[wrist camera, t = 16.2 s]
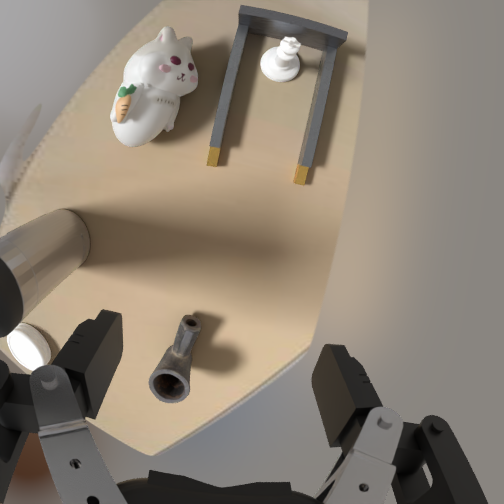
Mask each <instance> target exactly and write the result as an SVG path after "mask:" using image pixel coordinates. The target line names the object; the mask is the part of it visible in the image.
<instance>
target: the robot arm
mask: <svg viewBox="0 0 504 504" xmlns="http://www.w3.org/2000/svg"><path fill="white" fill-rule="evenodd" d="M89 251H90V237H89V233H88V230H87V228H86V226H85V224H84V223H83V221H82V220H81V219H80V218H79V216H78V215H76V214H75V213H73V212H71V211H69V210H65V209H59V210H56V211H53V212H51V213H49V214H47V215H43V216H40V217H38V218H36V219H34V220H32V221H30V222H28V223H26V224H24V225H22V226H20V227H18V228H16V229H14V230H12V231H10V232H8V233H7V234H6V235H5V236H3V237H1V238H0V338H1V337H5V336H7V335H8V334H10V333H11V332H12V331H13V330H14V329H15V328H16V327H17V326H18V325H19V323H21V321H22V320H23V319H24V318H25V317H26V316H27V315H28V314H29V313H30V312H31V311H32V310H33V309H34V308H35V307H36V306H37V305H38V304H39V303H40V302H41V301H42V300H43V299H44V298H45V297H46V296H47V295H49V294H50V293H51V292H52V291H53V290H54V289H55V288H56V287H57V286H58V285H59V284H60V283H61V282H62V281H63V280H64V279H66V278H67V277H68V276H69V275H70V274H71V273H72V272H73V271H74V270H76V269H77V268H78V267H79V266H80V265H81V264H82V263H83V262H84V261H85V260H86V258H87V257H88V254H89ZM122 352H123V330H122V315H121V313H117V312H113V311H109V310H104V309H103V310H101V312H100V313H99V315H98V316H97V317H96V319H95V320H92V319H87V320H86V321H84V322H82V323H81V324H79V325H78V327H77V328H76V329H75V331H74V332H73V335H71V336H70V338H69V339H68V341H67V342H66V343H65V345H64V346H63V348H62V349H61V351H60V352H59V353H58V355H57V356H56V358H55V359H54V361H53V362H52V364H51V365H44V366H40V367H38V368H36V369H35V370H34V371H33V372H32V373H31V375H27V374H17V373H10V371H9V368H8V366H7V364H6V363H5V362H4V361H2V360H0V504H3V503H4V499H5V496H6V493H7V490H8V487H9V484H10V481H11V478H12V475H13V472H14V470H15V467H16V464H17V462H18V459H19V456H20V454H21V452H22V449H23V446H24V444H25V442H26V439H27V437H28V435H29V432H30V433H38V434H39V438H40V442H41V445H42V448H43V452H44V455H45V458H46V461H47V464H48V467H49V470H50V472H51V475H52V478H53V480H54V483H55V486H56V488H57V490H58V493H59V495H60V498H61V500H62V502H63V504H383V503H384V501H385V498H386V496H387V493H388V491H389V488H390V485H392V488H393V492H394V495H395V498H396V501H397V504H488V502H487V500H486V498H485V496H484V493H483V491H482V489H481V487H480V485H479V483H478V480H477V478H476V476H475V474H474V472H473V470H472V468H471V466H470V464H469V462H468V460H467V458H466V456H465V454H464V452H463V451H462V449H461V447H460V445H459V443H458V441H457V439H456V437H455V435H454V433H453V432H452V430H451V428H450V426H449V425H448V423H447V422H446V421H445V420H443V419H442V418H440V417H438V416H434V415H430V416H426V417H425V418H424V419H423V420H422V421H421V423H420V424H414V423H408V422H403V421H402V419H401V417H400V416H399V414H398V413H396V412H395V411H394V410H392V409H390V408H386V407H383V405H382V403H381V401H380V399H379V397H378V395H377V393H376V391H375V389H374V387H373V385H372V383H370V380H369V377H368V376H367V374H366V372H365V370H364V368H363V366H362V365H361V364H360V363H359V362H358V361H357V360H356V359H355V358H354V357H350V355H349V353H348V351H347V349H346V347H345V346H344V345H333V344H325V345H324V347H323V349H322V351H321V354H320V356H319V359H318V361H317V364H316V366H315V369H314V371H313V374H312V388H313V391H314V394H315V397H316V401H317V404H318V408H319V411H320V415H321V418H322V421H323V425H324V428H325V432H326V435H327V439H328V442H329V446H330V447H341V449H342V452H341V454H340V455H339V457H338V458H337V460H336V462H335V464H334V465H333V467H332V469H331V470H330V472H329V474H328V476H327V477H326V479H325V480H324V482H323V484H322V485H321V487H320V488H319V490H318V491H317V492H316V494H315V495H314V496H313V497H311V496H308V495H306V494H303V493H300V492H296V491H292V490H291V485H290V482H256V483H250V484H245V485H239V486H232V487H224V488H221V487H216V486H213V485H210V484H206V483H203V482H200V481H197V480H194V479H191V478H188V477H186V476H181V475H174V474H169V473H163V472H158V471H153V470H149V477H148V478H137V479H131V480H126V481H123V482H120V483H117V484H116V483H115V481H114V479H113V478H112V476H111V474H110V472H109V470H108V468H107V466H106V464H105V462H104V461H103V459H102V457H101V454H100V452H99V451H98V448H97V446H96V444H95V442H94V439H93V437H92V435H91V433H90V430H89V428H88V426H87V423H86V421H84V420H85V417H89V418H92V419H96V416H97V414H98V411H99V409H100V406H101V404H102V402H103V399H104V397H105V394H106V392H107V390H108V387H109V385H110V383H111V380H112V378H113V376H114V373H115V371H116V369H117V366H118V364H119V362H120V360H121V357H122ZM425 463H427V466H428V468H429V471H430V473H431V475H432V478H433V483H432V487H431V488H430V486H429V483H428V481H427V478H426V475H425V473H424V470H423V468H422V466H423V465H424V464H425Z"/></svg>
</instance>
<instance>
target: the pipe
mask: <svg viewBox="0 0 504 504" xmlns="http://www.w3.org/2000/svg"><path fill="white" fill-rule="evenodd" d="M200 330H201V322H200V320H199V319H198V318H197V317H194V316H191V315H185V316H184V317H183V318H182V320H181V323H180V325H179V328H178V331H177V334H176V337H175V341H174V345H172V346H170V347H169V348H168V349H167V350H166V352H165V354H164V356H163V357H162V359H161V361H160V363H159V364H158V366H157V367H156V369H155V370H154V372H153V373H152V374H151V376H150V378H149V387H150V390H151V391H152V393H153V394H154V395H155V397H156V398H157V399H159V400H160V401H162V402H165V403H178V402H180V401H182V400H184V399H185V398H186V397H187V396H188V395H189V392H190V369H191V362H192V355H191V352H190V351H191V349H192V347H193V345H194V343H195V341H196V339H197V336H198V335H199V332H200Z"/></svg>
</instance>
